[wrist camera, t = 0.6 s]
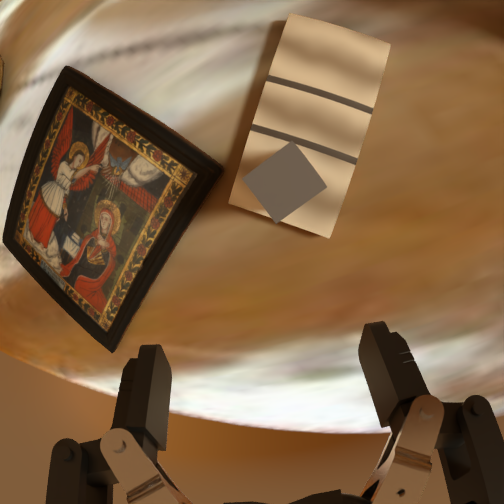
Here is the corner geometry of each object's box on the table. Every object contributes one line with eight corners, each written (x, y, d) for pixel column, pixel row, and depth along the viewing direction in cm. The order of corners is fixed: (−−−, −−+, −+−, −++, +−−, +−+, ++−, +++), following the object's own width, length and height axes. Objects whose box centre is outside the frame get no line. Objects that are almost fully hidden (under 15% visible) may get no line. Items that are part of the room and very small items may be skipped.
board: (290, 19, 30) (289, 13, 29) (387, 49, 29) (391, 44, 27) (232, 201, 38) (228, 203, 36) (328, 234, 37) (329, 238, 35)
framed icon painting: (58, 62, 37) (46, 59, 35) (243, 142, 36) (237, 140, 34) (7, 253, 50) (-3, 257, 47) (139, 359, 49) (131, 368, 47)
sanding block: (298, 147, 33) (292, 140, 23) (323, 181, 33) (327, 187, 24) (262, 174, 34) (241, 178, 25) (286, 207, 35) (276, 224, 25)
